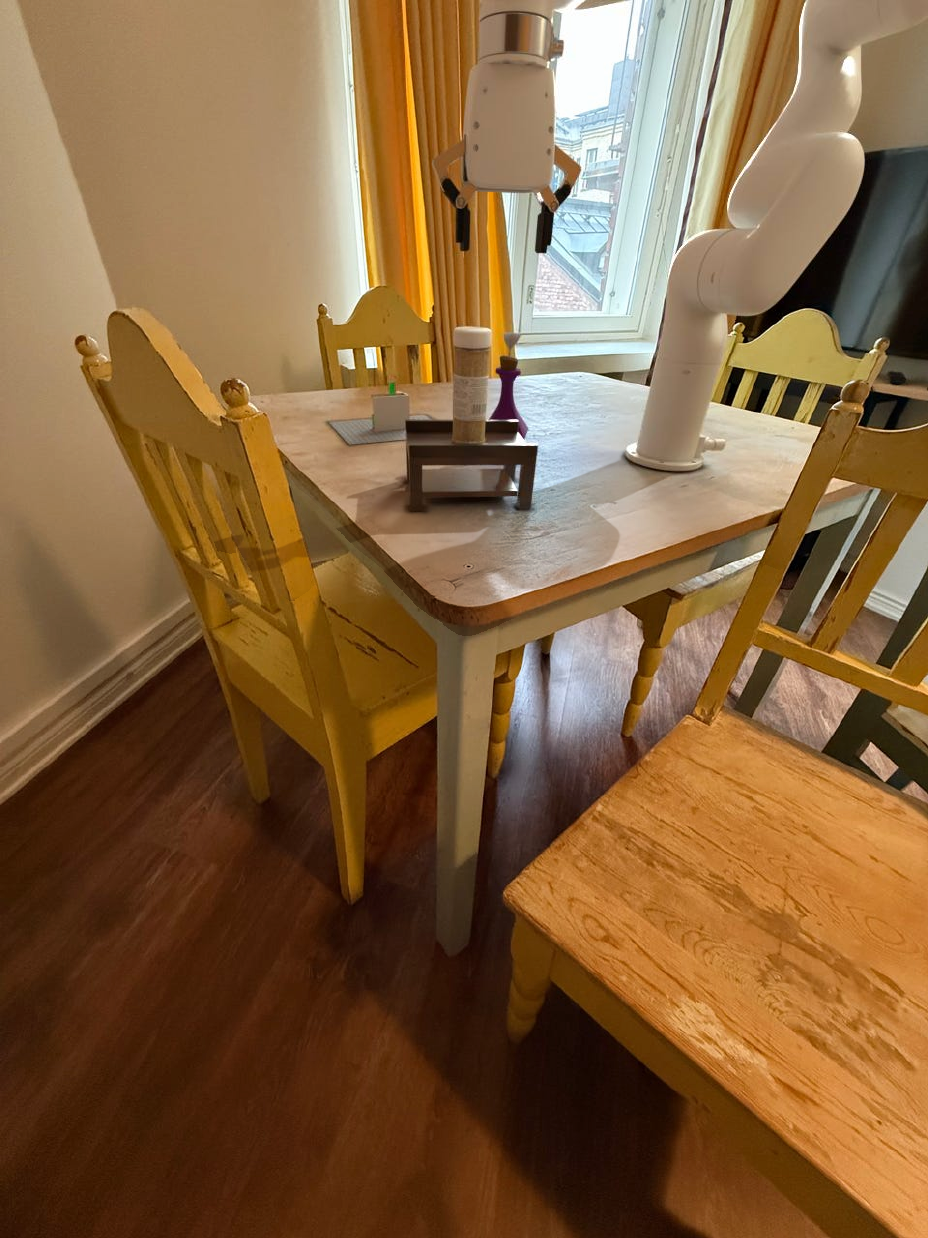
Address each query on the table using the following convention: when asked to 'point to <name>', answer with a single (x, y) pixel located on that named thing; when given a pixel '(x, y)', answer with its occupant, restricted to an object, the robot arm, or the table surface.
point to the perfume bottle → (509, 386)
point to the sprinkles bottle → (470, 383)
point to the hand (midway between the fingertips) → (502, 251)
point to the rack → (468, 462)
